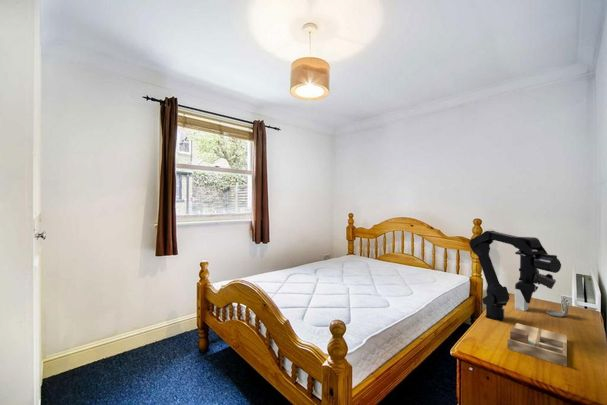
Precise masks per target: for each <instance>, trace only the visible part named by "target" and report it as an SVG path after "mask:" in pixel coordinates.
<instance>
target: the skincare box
mask: <svg viewBox="0 0 607 405" xmlns="http://www.w3.org/2000/svg"><path fill="white" fill-rule="evenodd" d="M529 304H530V303H526V301H525V299H524V297H523V295H522V293H521V291H520V290H518V289H515V288H514V309H515V310H519V311H522V312H525V311H527V310H529V307H530V306H529Z"/></svg>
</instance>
